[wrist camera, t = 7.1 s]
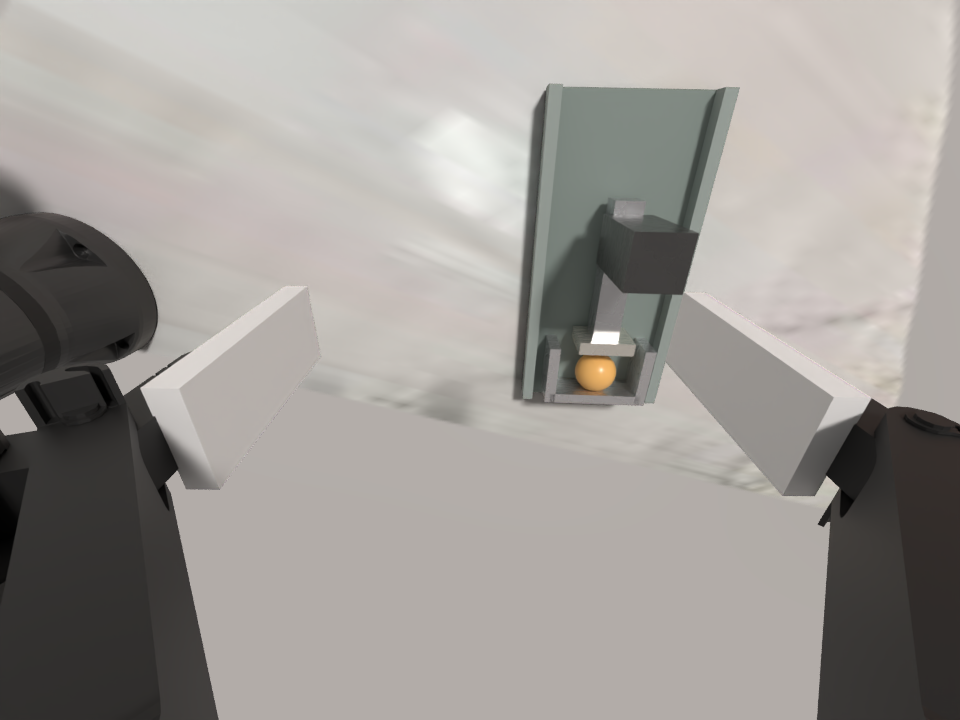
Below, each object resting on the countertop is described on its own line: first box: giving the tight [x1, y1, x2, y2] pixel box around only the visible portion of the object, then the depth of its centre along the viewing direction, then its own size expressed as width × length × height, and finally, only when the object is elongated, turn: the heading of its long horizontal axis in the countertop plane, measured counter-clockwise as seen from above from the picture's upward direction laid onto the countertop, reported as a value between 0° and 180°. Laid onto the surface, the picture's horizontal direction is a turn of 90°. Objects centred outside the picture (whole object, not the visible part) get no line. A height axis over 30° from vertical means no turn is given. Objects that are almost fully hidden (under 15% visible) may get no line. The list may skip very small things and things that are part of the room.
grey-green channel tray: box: [522, 84, 740, 403], centre depth 37 cm, size 14×28×2 cm, turn 179°
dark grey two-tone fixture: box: [572, 198, 699, 357], centre depth 32 cm, size 5×13×11 cm, turn 179°
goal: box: [541, 335, 657, 406], centre depth 40 cm, size 10×6×4 cm, turn 89°
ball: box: [575, 355, 616, 391], centre depth 40 cm, size 4×4×4 cm
